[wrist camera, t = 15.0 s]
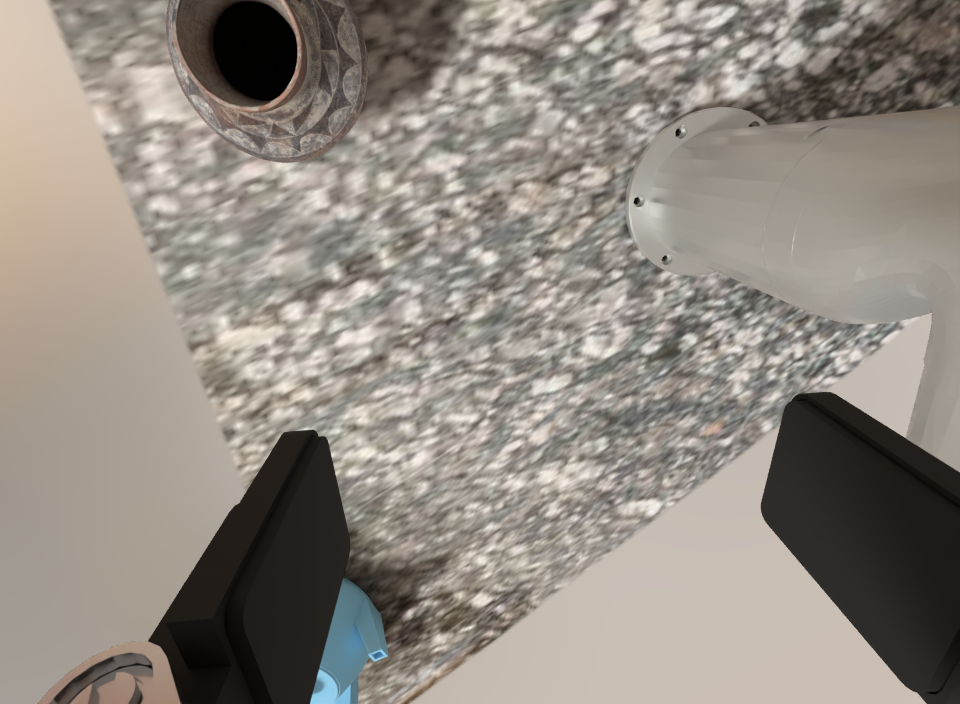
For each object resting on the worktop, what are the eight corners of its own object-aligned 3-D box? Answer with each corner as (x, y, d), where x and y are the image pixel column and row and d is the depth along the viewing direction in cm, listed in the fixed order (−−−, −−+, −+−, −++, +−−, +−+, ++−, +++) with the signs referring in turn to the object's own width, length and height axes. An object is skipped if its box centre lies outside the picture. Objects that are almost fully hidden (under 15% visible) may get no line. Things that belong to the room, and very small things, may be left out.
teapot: (405, 578, 52) (394, 676, 42) (368, 659, 57) (350, 764, 48) (271, 546, 49) (225, 643, 39) (244, 634, 55) (198, 740, 45)
